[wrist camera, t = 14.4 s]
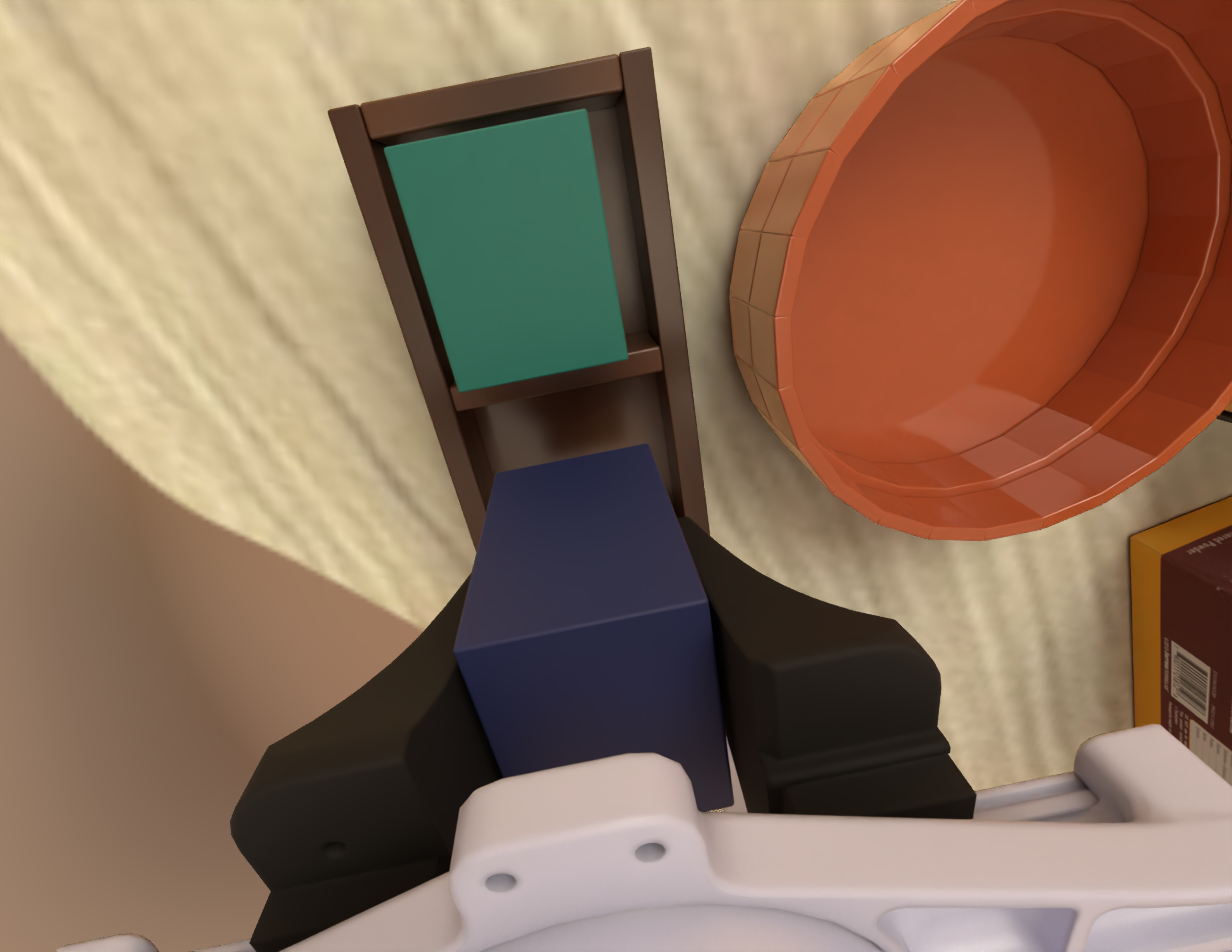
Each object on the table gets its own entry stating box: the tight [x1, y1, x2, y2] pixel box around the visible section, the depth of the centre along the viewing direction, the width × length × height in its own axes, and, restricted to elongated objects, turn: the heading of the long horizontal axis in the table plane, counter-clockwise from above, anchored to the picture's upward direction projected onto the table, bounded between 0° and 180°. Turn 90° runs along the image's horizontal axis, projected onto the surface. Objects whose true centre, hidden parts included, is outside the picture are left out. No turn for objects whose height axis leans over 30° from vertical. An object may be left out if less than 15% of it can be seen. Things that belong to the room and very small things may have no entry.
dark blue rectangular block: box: [453, 443, 734, 812], centre depth 13 cm, size 4×5×6 cm
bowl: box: [729, 0, 1232, 541], centre depth 18 cm, size 15×15×5 cm
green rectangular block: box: [384, 109, 628, 393], centre depth 15 cm, size 4×5×6 cm
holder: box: [328, 47, 710, 552], centre depth 19 cm, size 8×15×3 cm, turn 10°
